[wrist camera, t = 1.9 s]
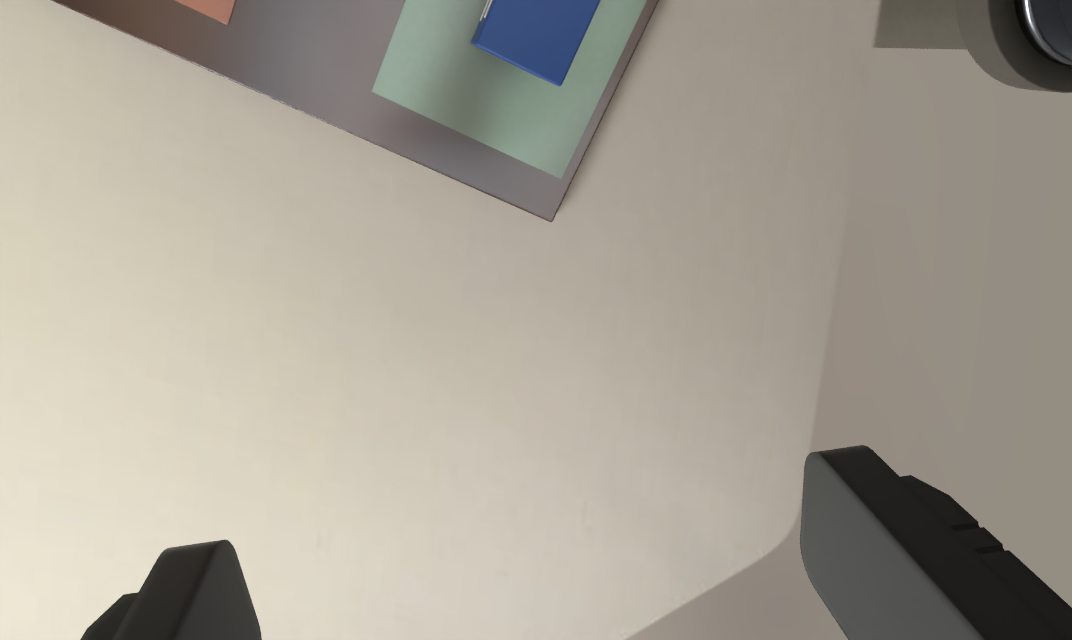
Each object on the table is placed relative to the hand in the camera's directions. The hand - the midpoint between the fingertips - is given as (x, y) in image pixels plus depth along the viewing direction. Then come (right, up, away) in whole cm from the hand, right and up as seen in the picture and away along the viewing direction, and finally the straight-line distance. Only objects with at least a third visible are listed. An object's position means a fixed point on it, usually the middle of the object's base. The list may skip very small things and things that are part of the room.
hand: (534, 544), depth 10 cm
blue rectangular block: (0, +16, +19) cm, 25 cm away
